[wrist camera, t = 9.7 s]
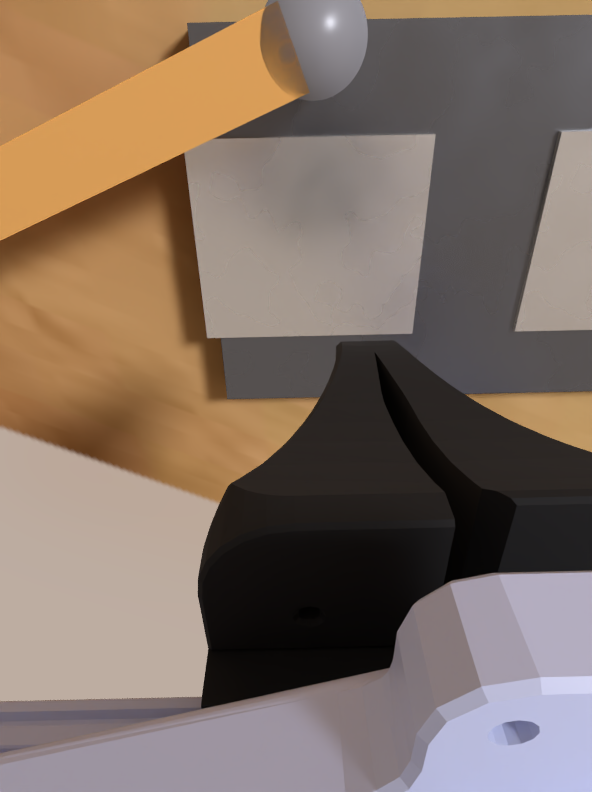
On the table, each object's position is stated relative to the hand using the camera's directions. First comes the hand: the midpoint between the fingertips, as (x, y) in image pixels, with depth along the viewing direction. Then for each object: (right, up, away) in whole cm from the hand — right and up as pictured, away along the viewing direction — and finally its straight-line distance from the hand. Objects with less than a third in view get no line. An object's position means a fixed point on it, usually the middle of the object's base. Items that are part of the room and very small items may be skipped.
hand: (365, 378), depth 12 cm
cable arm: (-7, +7, +3) cm, 11 cm away
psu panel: (+7, +6, +7) cm, 12 cm away
